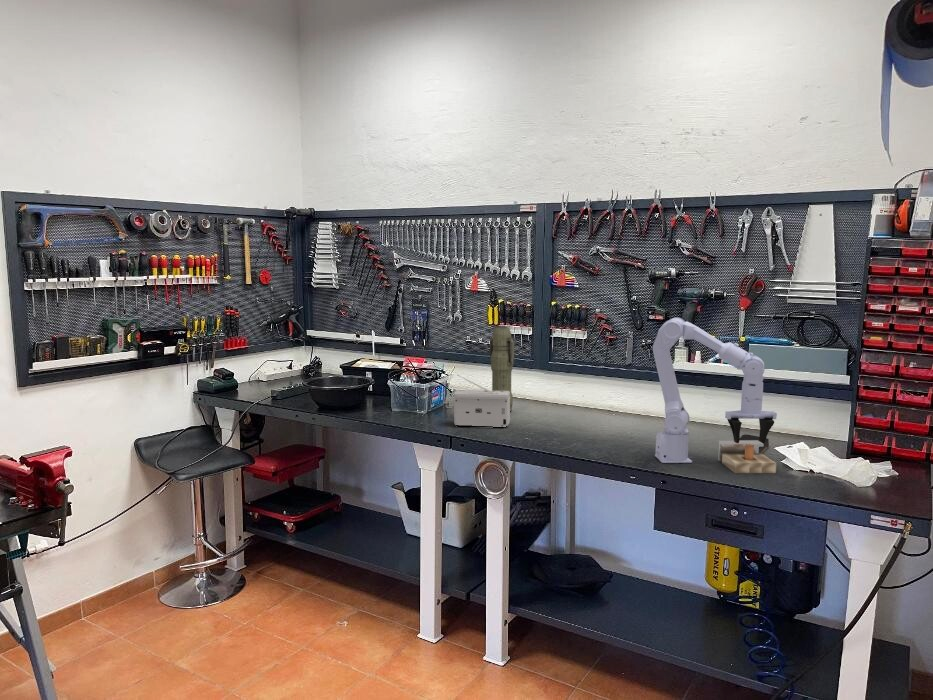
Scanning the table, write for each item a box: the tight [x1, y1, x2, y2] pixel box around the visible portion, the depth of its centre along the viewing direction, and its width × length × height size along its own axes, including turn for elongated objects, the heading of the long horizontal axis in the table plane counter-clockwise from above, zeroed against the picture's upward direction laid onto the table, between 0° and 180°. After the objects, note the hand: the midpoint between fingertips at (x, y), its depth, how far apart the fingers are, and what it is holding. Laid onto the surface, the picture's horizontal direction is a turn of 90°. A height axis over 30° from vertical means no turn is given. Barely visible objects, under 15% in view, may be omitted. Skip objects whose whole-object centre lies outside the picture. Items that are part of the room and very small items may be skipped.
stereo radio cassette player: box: [453, 374, 511, 428], centre depth 257 cm, size 21×8×20 cm, turn 84°
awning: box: [717, 439, 764, 462], centre depth 212 cm, size 12×4×6 cm, turn 91°
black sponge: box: [740, 433, 770, 454], centre depth 224 cm, size 16×8×4 cm, turn 146°
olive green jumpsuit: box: [489, 325, 515, 412], centre depth 281 cm, size 9×12×35 cm
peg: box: [744, 444, 754, 460], centre depth 205 cm, size 2×2×7 cm
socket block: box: [721, 453, 777, 474], centre depth 206 cm, size 12×10×3 cm
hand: (749, 442), depth 205 cm, fingers open, 7 cm apart
